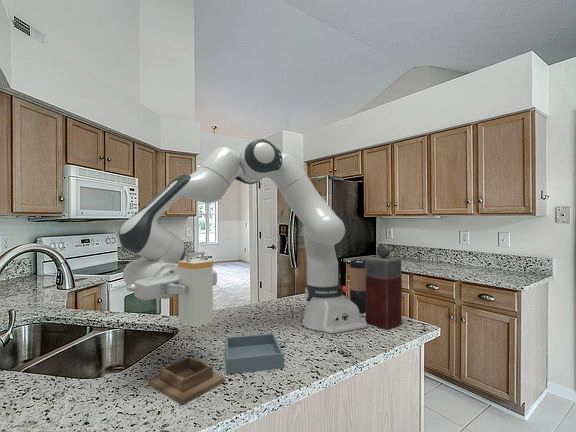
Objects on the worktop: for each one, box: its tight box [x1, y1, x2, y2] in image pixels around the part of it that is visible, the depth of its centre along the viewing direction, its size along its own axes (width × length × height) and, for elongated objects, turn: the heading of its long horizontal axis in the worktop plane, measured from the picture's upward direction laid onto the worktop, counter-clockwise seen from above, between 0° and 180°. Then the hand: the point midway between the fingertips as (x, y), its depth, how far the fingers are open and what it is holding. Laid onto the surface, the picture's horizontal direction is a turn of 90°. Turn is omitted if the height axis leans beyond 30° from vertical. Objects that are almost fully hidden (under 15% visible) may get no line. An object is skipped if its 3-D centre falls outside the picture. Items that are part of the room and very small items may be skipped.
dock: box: [147, 356, 226, 406], centre depth 70 cm, size 13×11×4 cm
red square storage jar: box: [365, 244, 403, 331], centre depth 110 cm, size 9×11×28 cm
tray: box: [224, 333, 285, 375], centre depth 83 cm, size 14×14×4 cm
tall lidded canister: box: [178, 251, 214, 328], centre depth 72 cm, size 6×5×16 cm
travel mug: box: [349, 259, 366, 314], centre depth 125 cm, size 8×8×20 cm
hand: (198, 287), depth 71 cm, fingers closed on tall lidded canister, 5 cm apart
